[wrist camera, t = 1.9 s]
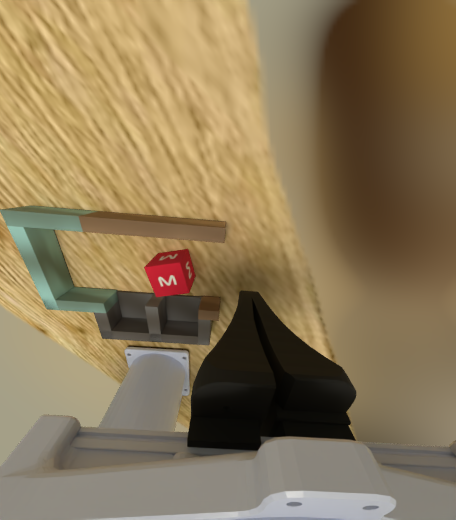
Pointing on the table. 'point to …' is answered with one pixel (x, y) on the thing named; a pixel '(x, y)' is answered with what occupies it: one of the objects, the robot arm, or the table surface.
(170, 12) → the table surface
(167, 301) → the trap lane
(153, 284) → the red letter block
